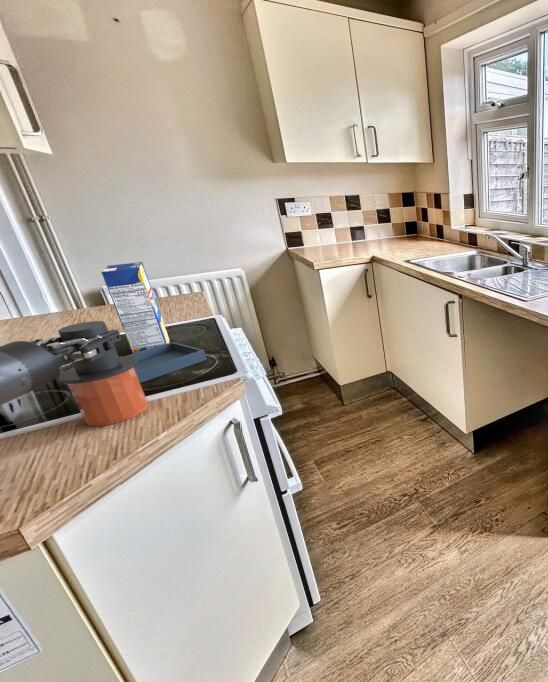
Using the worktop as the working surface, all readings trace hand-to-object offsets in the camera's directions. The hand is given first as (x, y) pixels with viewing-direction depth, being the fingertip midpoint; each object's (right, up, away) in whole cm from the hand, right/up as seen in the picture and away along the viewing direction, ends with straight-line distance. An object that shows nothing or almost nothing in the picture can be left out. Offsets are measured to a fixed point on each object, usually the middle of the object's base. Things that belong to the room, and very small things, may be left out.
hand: (99, 335), depth 77 cm
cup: (+1, -15, +3) cm, 15 cm away
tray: (-10, -8, +22) cm, 26 cm away
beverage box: (-20, -3, +35) cm, 41 cm away
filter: (0, -9, +1) cm, 9 cm away
